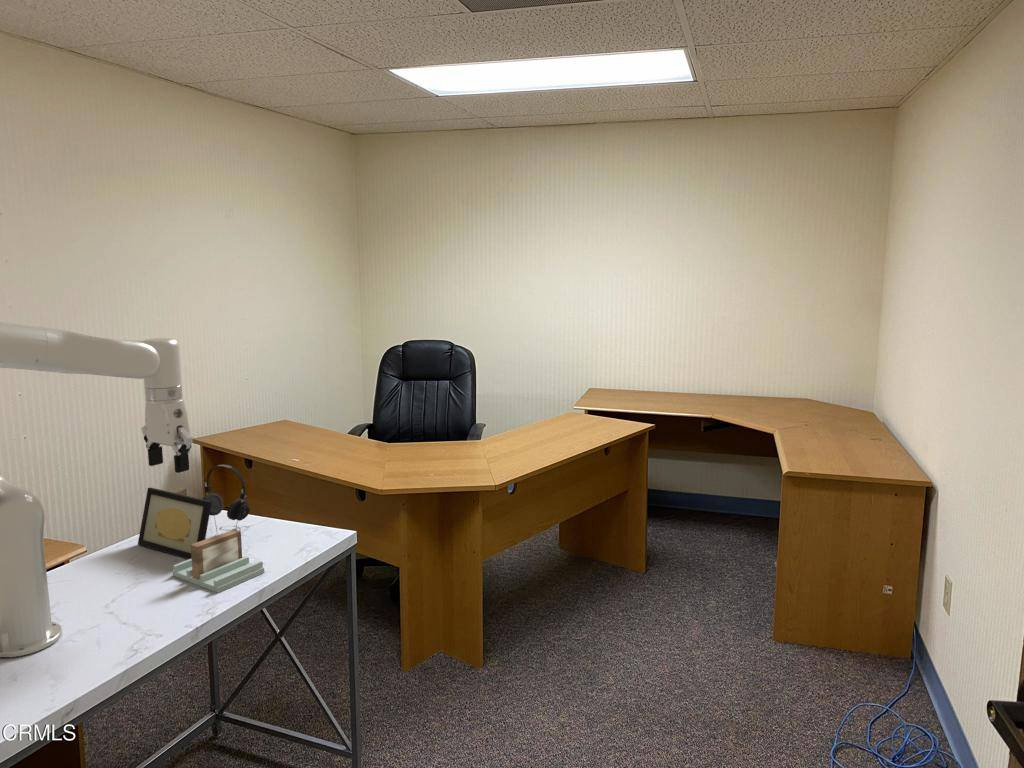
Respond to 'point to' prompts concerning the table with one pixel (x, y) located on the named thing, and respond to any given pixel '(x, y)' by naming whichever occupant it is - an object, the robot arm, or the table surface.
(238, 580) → the display rail
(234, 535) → the long brown rectangular block
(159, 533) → the picture frame
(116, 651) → the table surface
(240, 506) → the headphones
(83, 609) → the table surface
